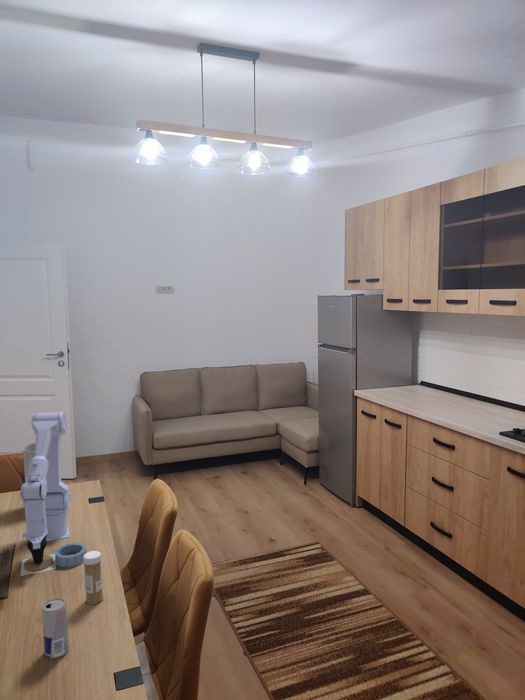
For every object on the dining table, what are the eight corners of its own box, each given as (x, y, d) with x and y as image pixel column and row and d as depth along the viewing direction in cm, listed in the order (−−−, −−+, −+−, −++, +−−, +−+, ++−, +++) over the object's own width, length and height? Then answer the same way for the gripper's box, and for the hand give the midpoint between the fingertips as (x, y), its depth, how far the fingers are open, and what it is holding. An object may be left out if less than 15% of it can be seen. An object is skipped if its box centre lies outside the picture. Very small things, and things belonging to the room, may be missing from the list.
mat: (22, 560, 166) (21, 559, 166) (55, 554, 170) (55, 553, 170) (20, 576, 157) (20, 575, 157) (56, 569, 161) (56, 568, 161)
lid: (24, 560, 166) (23, 547, 165) (52, 555, 169) (52, 542, 169) (23, 573, 158) (22, 560, 158) (53, 567, 161) (52, 554, 161)
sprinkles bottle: (105, 601, 145) (102, 555, 143) (88, 607, 142) (85, 560, 140) (100, 593, 148) (98, 548, 147) (83, 598, 146) (81, 553, 144)
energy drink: (48, 644, 127) (45, 598, 126) (71, 643, 128) (68, 597, 126) (41, 660, 122) (38, 612, 121) (65, 658, 122) (62, 610, 121)
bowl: (55, 556, 169) (54, 546, 168) (85, 550, 172) (85, 540, 172) (56, 570, 160) (55, 559, 160) (87, 564, 164) (87, 553, 163)
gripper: (22, 511, 167) (25, 551, 169) (20, 531, 154) (23, 574, 155) (46, 507, 170) (49, 547, 171) (46, 526, 156) (49, 569, 158)
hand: (38, 560), depth 163 cm, fingers closed on lid, 3 cm apart
